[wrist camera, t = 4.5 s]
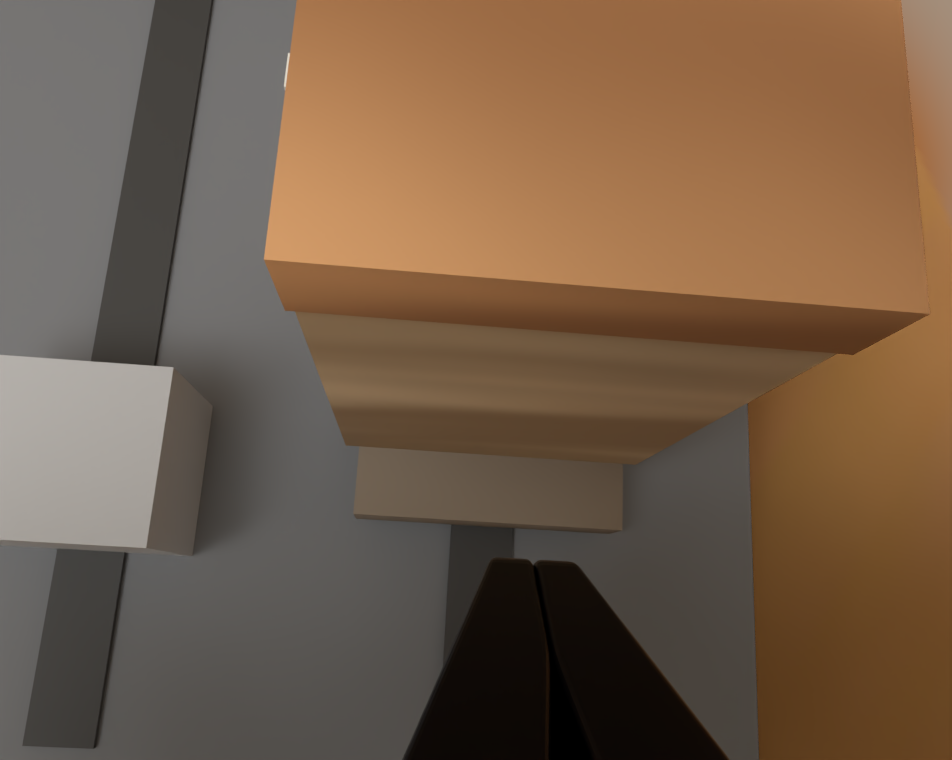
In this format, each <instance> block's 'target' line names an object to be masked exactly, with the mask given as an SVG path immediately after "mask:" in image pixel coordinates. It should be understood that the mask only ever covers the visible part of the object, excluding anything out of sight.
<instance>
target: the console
mask: <svg viewBox="0 0 952 760" xmlns="http://www.w3.org/2000/svg"><path fill="white" fill-rule="evenodd" d="M296 2H297V0H0V760H402V759H403V757H404V754H405V752H406V750H407V748H408V745H409V743H410V741H411V738H412V736H413V734H414V732H415V729H416V727H417V725H418V722H419V720H420V718H421V716H422V713H423V711H424V709H425V707H426V704H427V702H428V700H429V697H430V695H431V693H432V691H433V688H434V686H435V684H436V681H437V679H438V677H439V675H440V672H441V670H442V668H443V665H444V663H445V661H446V659H447V656H448V654H449V652H450V650H451V647H452V645H453V643H454V640H455V638H456V636H457V634H458V631H459V629H460V627H461V624H462V622H463V620H464V618H465V615H466V613H467V611H468V608H469V606H470V604H471V602H472V599H473V597H474V595H475V592H476V590H477V588H478V586H479V583H480V581H481V579H482V577H483V574H484V572H485V570H486V567H487V565H488V563H489V561H490V560H491V559H493V558H495V557H502V558H520V559H528V560H529V561H531V562H532V564H533V565H534V563H535V562H536V561H538V560H554V561H570V562H574V563H575V564H577V565H578V566H579V567H580V568H581V569H582V570H583V572H584V573H585V574H586V576H587V577H588V578H589V579H590V581H591V582H592V583H593V585H594V586H595V587H596V588H597V590H598V591H599V592H600V594H601V595H602V596H603V597H604V599H605V600H606V601H607V603H608V604H609V605H610V606H611V608H612V609H613V610H614V612H615V613H616V614H617V615H618V617H619V618H620V619H621V621H622V622H623V623H624V624H625V626H626V627H627V628H628V629H629V631H630V632H631V633H632V635H633V636H634V637H635V638H636V640H637V641H638V642H639V644H640V645H641V646H642V647H643V649H644V650H645V651H646V653H647V654H648V655H649V656H650V658H651V659H652V660H653V662H654V663H655V664H656V665H657V667H658V668H659V669H660V671H661V672H662V673H663V674H664V676H665V677H666V678H667V680H668V681H669V682H670V683H671V685H672V686H673V687H674V689H675V690H676V691H677V692H678V694H679V695H680V696H681V698H682V699H683V700H684V701H685V703H686V704H687V705H688V706H689V708H690V709H691V710H692V712H693V713H694V714H695V715H696V717H697V718H698V719H699V721H700V722H701V723H702V724H703V726H704V727H705V728H706V730H707V731H708V732H709V733H710V735H711V736H712V737H713V739H714V740H715V741H716V742H717V744H718V745H719V746H720V748H721V749H722V750H723V751H724V753H725V754H726V755H727V757H728V758H729V759H730V760H759V742H758V711H757V680H756V649H755V618H754V587H753V556H752V525H751V494H750V463H749V432H748V403H747V404H745V405H743V406H741V407H739V408H738V409H736V410H734V411H732V412H730V413H729V414H727V415H725V416H723V417H721V418H720V419H718V420H716V421H714V422H712V423H710V424H709V425H707V426H705V427H703V428H701V429H700V430H698V431H696V432H694V433H692V434H691V435H689V436H687V437H685V438H683V439H682V440H680V441H678V442H676V443H674V444H672V445H671V446H669V447H667V448H665V449H663V450H662V451H660V452H658V453H656V454H654V455H653V456H651V457H649V458H647V459H645V460H643V461H642V462H640V463H638V464H636V465H632V464H623V518H622V531H618V532H615V533H611V534H601V533H585V532H568V531H551V530H535V529H518V528H502V527H485V526H469V525H452V524H435V523H419V522H402V521H386V520H369V519H356V518H355V516H354V514H353V511H354V500H355V489H356V478H357V467H358V455H359V446H346V445H345V442H344V439H343V437H342V434H341V432H340V429H339V426H338V424H337V421H336V418H335V416H334V413H333V410H332V408H331V405H330V403H329V400H328V397H327V395H326V392H325V389H324V387H323V384H322V382H321V379H320V376H319V374H318V371H317V368H316V366H315V363H314V361H313V358H312V355H311V353H310V350H309V347H308V345H307V342H306V340H305V337H304V334H303V332H302V329H301V326H300V324H299V321H298V319H297V316H296V313H295V311H285V309H284V307H283V305H282V302H281V300H280V297H279V295H278V293H277V290H276V288H275V285H274V283H273V280H272V278H271V276H270V273H269V271H268V268H267V266H266V264H265V261H264V254H265V246H266V238H267V230H268V222H269V215H270V207H271V199H272V191H273V183H274V175H275V167H276V159H277V152H278V144H279V136H280V128H281V120H282V112H283V104H284V96H285V89H286V81H287V73H288V65H289V57H290V49H291V41H292V33H293V26H294V18H295V10H296Z"/></svg>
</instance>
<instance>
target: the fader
mask: <svg viewBox="0 0 952 760" xmlns="http://www.w3.org/2000/svg"><path fill="white" fill-rule="evenodd" d="M264 261H265V264H266V266H267V268H268V271H269V273H270V276H271V278H272V280H273V283H274V285H275V288H276V290H277V293H278V295H279V297H280V300H281V302H282V305H283V307H284V309H285V311H295V313H296V316H297V319H298V321H299V324H300V326H301V329H302V332H303V334H304V337H305V340H306V342H307V345H308V347H309V350H310V353H311V355H312V358H313V361H314V363H315V366H316V368H317V371H318V374H319V376H320V379H321V382H322V384H323V387H324V389H325V392H326V395H327V397H328V400H329V403H330V405H331V408H332V410H333V413H334V416H335V418H336V421H337V424H338V426H339V429H340V432H341V434H342V437H343V439H344V442H345V445H346V446H359V455H358V467H357V478H356V489H355V500H354V511H353V514H354V516H355V518H356V519H369V520H386V521H402V522H419V523H435V524H452V525H469V526H485V527H502V528H518V529H535V530H551V531H568V532H585V533H601V534H611V533H615V532H618V531H622V518H623V464H632V465H636V464H638V463H640V462H642V461H643V460H645V459H647V458H649V457H651V456H653V455H654V454H656V453H658V452H660V451H662V450H663V449H665V448H667V447H669V446H671V445H672V444H674V443H676V442H678V441H680V440H682V439H683V438H685V437H687V436H689V435H691V434H692V433H694V432H696V431H698V430H700V429H701V428H703V427H705V426H707V425H709V424H710V423H712V422H714V421H716V420H718V419H720V418H721V417H723V416H725V415H727V414H729V413H730V412H732V411H734V410H736V409H738V408H739V407H741V406H743V405H745V404H747V403H749V402H750V401H752V400H754V399H756V398H758V397H759V396H761V395H763V394H765V393H767V392H768V391H770V390H772V389H774V388H776V387H778V386H779V385H781V384H783V383H785V382H787V381H788V380H790V379H792V378H794V377H796V376H797V375H799V374H801V373H803V372H805V371H806V370H808V369H810V368H812V367H814V366H816V365H817V364H819V363H821V362H823V361H825V360H826V359H828V358H830V357H832V356H834V355H835V354H850V355H854V354H855V353H857V352H859V351H861V350H863V349H865V348H867V347H869V346H871V345H872V344H874V343H876V342H878V341H880V340H882V339H884V338H886V337H888V336H889V335H891V334H893V333H895V332H897V331H899V330H901V329H903V328H904V327H906V326H908V325H910V324H912V323H914V322H916V321H918V320H920V319H921V318H923V317H925V316H927V315H929V314H930V307H929V296H928V285H927V275H926V264H925V253H924V242H923V232H922V221H921V210H920V199H919V188H918V178H917V167H916V156H915V145H914V135H913V125H912V113H911V102H910V92H909V81H908V70H907V59H906V49H905V38H904V27H903V16H902V7H901V0H297V2H296V10H295V18H294V26H293V33H292V41H291V49H290V57H289V65H288V73H287V81H286V89H285V96H284V104H283V112H282V120H281V128H280V136H279V144H278V152H277V159H276V167H275V175H274V183H273V191H272V199H271V207H270V215H269V222H268V230H267V238H266V246H265V254H264Z"/></svg>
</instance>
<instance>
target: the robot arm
mask: <svg viewBox="0 0 952 760" xmlns="http://www.w3.org/2000/svg"><path fill="white" fill-rule="evenodd" d="M402 760H730V759H729V758H728V757H727V755H726V754H725V753H724V751H723V750H722V749H721V748H720V746H719V745H718V744H717V742H716V741H715V740H714V739H713V737H712V736H711V735H710V733H709V732H708V731H707V730H706V728H705V727H704V726H703V724H702V723H701V722H700V721H699V719H698V718H697V717H696V715H695V714H694V713H693V712H692V710H691V709H690V708H689V706H688V705H687V704H686V703H685V701H684V700H683V699H682V698H681V696H680V695H679V694H678V692H677V691H676V690H675V689H674V687H673V686H672V685H671V683H670V682H669V681H668V680H667V678H666V677H665V676H664V674H663V673H662V672H661V671H660V669H659V668H658V667H657V665H656V664H655V663H654V662H653V660H652V659H651V658H650V656H649V655H648V654H647V653H646V651H645V650H644V649H643V647H642V646H641V645H640V644H639V642H638V641H637V640H636V638H635V637H634V636H633V635H632V633H631V632H630V631H629V629H628V628H627V627H626V626H625V624H624V623H623V622H622V621H621V619H620V618H619V617H618V615H617V614H616V613H615V612H614V610H613V609H612V608H611V606H610V605H609V604H608V603H607V601H606V600H605V599H604V597H603V596H602V595H601V594H600V592H599V591H598V590H597V588H596V587H595V586H594V585H593V583H592V582H591V581H590V579H589V578H588V577H587V576H586V574H585V573H584V572H583V570H582V569H581V568H580V567H579V566H578V565H577V564H575V563H574V562H570V561H554V560H538V561H536V562H535V563H534V565H533V564H532V562H531V561H529V560H528V559H520V558H502V557H495V558H493V559H491V560H490V561H489V563H488V565H487V567H486V570H485V572H484V574H483V577H482V579H481V581H480V583H479V586H478V588H477V590H476V592H475V595H474V597H473V599H472V602H471V604H470V606H469V608H468V611H467V613H466V615H465V618H464V620H463V622H462V624H461V627H460V629H459V631H458V634H457V636H456V638H455V640H454V643H453V645H452V647H451V650H450V652H449V654H448V656H447V659H446V661H445V663H444V665H443V668H442V670H441V672H440V675H439V677H438V679H437V681H436V684H435V686H434V688H433V691H432V693H431V695H430V697H429V700H428V702H427V704H426V707H425V709H424V711H423V713H422V716H421V718H420V720H419V722H418V725H417V727H416V729H415V732H414V734H413V736H412V738H411V741H410V743H409V745H408V748H407V750H406V752H405V754H404V757H403V759H402Z"/></svg>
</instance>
